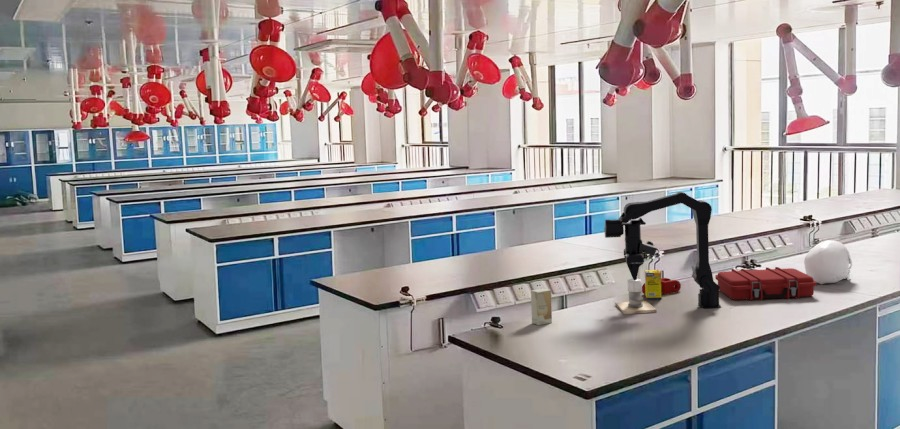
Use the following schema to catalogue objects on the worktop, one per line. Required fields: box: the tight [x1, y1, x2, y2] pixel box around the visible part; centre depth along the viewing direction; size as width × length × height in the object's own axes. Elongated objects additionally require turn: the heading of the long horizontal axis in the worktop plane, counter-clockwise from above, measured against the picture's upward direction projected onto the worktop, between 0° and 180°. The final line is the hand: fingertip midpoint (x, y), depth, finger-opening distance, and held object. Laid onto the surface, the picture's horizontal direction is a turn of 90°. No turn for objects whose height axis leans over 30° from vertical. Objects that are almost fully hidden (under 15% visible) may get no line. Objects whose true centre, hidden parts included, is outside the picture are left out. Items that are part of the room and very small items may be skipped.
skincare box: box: [530, 288, 553, 326], centre depth 266 cm, size 6×4×12 cm
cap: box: [627, 278, 643, 293], centre depth 277 cm, size 5×5×4 cm
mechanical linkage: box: [641, 277, 682, 295], centre depth 301 cm, size 16×7×5 cm, turn 113°
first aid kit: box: [714, 266, 818, 302], centre depth 289 cm, size 32×23×9 cm
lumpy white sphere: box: [803, 239, 853, 285], centre depth 302 cm, size 16×20×22 cm
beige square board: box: [615, 291, 658, 315], centre depth 278 cm, size 12×14×7 cm
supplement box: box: [644, 269, 662, 301], centre depth 293 cm, size 6×6×11 cm
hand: (634, 277), depth 277 cm, fingers open, 9 cm apart
